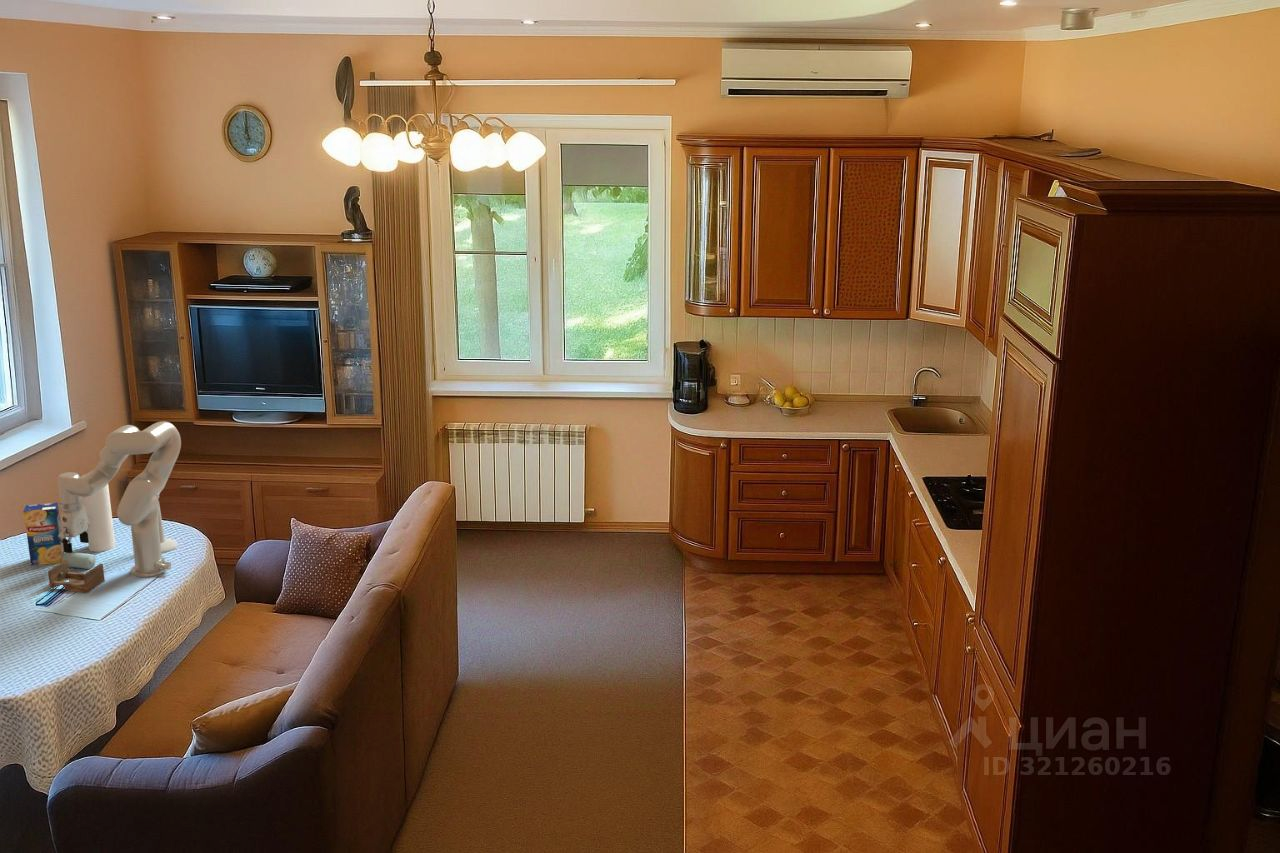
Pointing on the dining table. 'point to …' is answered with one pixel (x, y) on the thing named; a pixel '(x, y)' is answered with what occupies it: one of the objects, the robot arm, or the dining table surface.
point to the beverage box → (43, 533)
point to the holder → (75, 578)
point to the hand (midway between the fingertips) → (76, 547)
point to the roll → (79, 560)
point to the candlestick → (165, 542)
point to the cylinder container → (100, 521)
